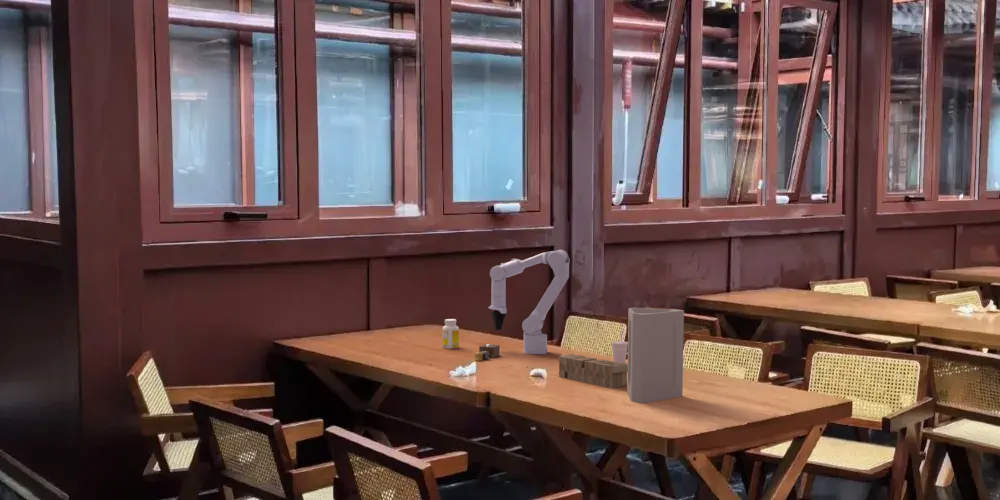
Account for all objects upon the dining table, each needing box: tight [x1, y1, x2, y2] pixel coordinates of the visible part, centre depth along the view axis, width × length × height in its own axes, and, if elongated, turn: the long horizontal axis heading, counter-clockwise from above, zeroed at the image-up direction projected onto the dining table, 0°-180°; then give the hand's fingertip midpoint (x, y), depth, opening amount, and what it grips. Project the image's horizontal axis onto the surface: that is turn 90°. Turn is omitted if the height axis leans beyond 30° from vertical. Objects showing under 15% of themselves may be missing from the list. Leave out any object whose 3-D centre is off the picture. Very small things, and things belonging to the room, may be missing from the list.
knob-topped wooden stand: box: [474, 343, 501, 362], centre depth 408 cm, size 15×6×4 cm, turn 158°
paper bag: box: [626, 307, 685, 404], centre depth 344 cm, size 19×15×28 cm
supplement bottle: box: [441, 318, 460, 350], centre depth 433 cm, size 7×7×13 cm
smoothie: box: [610, 330, 628, 363], centre depth 396 cm, size 6×6×14 cm
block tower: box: [558, 353, 628, 389], centre depth 370 cm, size 8×8×29 cm
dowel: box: [483, 351, 490, 361], centre depth 404 cm, size 2×2×4 cm
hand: (498, 329), depth 426 cm, fingers closed
